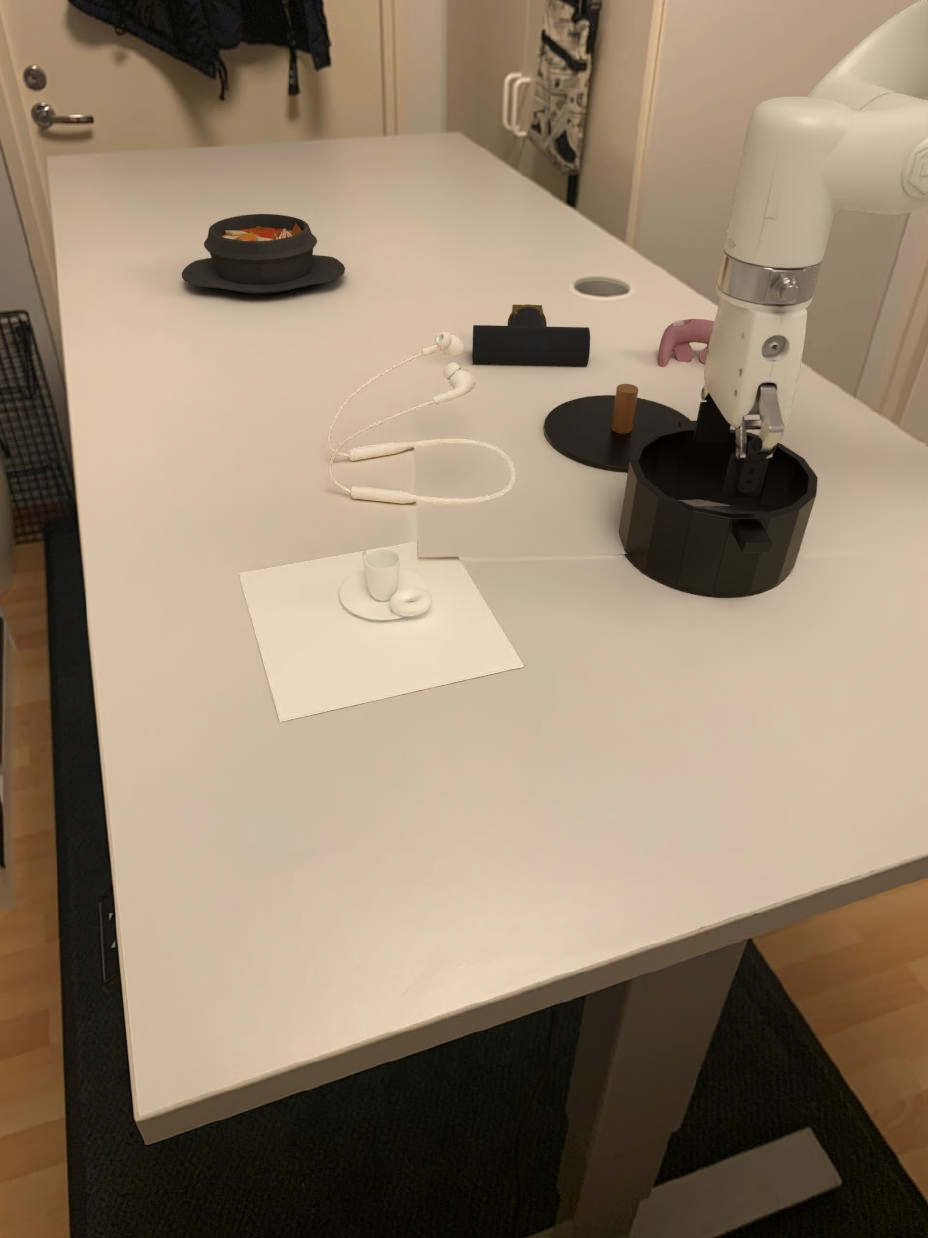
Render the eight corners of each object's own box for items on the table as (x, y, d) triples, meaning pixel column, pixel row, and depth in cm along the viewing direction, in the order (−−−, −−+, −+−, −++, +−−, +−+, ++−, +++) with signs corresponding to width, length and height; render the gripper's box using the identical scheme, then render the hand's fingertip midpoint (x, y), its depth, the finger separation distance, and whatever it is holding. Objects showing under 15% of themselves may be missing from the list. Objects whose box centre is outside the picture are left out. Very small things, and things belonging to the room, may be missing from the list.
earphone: (312, 417, 99) (438, 308, 93) (412, 511, 108) (532, 418, 102) (312, 480, 88) (454, 362, 83) (422, 579, 98) (557, 479, 92)
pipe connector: (472, 298, 124) (582, 301, 124) (471, 336, 127) (578, 338, 128) (473, 333, 115) (591, 335, 116) (472, 372, 119) (586, 374, 119)
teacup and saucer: (444, 619, 78) (444, 581, 76) (354, 637, 76) (351, 599, 74) (414, 563, 85) (413, 526, 82) (330, 578, 83) (327, 541, 80)
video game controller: (729, 378, 122) (739, 324, 121) (732, 376, 118) (743, 320, 116) (655, 370, 124) (664, 316, 122) (655, 367, 119) (665, 312, 118)
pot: (753, 486, 97) (772, 413, 92) (830, 614, 80) (859, 534, 75) (600, 488, 96) (610, 414, 91) (645, 618, 79) (661, 537, 74)
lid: (677, 403, 113) (685, 355, 109) (717, 476, 99) (728, 424, 95) (534, 404, 111) (538, 355, 108) (554, 478, 98) (560, 425, 94)
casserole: (343, 261, 151) (339, 207, 146) (349, 301, 137) (345, 243, 132) (188, 265, 148) (179, 211, 143) (178, 307, 134) (167, 248, 128)
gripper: (856, 317, 66) (797, 518, 76) (777, 243, 79) (736, 422, 90) (754, 318, 65) (709, 519, 76) (692, 243, 79) (662, 423, 89)
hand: (724, 467), depth 83 cm, fingers open, 9 cm apart
